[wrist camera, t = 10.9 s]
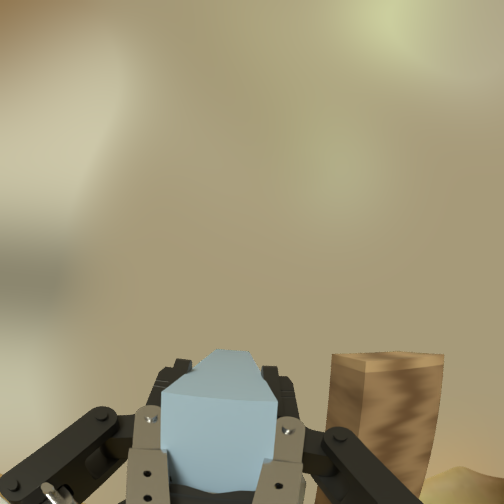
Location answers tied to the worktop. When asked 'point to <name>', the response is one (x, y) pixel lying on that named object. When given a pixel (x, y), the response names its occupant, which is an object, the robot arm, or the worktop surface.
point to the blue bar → (219, 424)
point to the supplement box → (3, 501)
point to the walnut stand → (388, 408)
